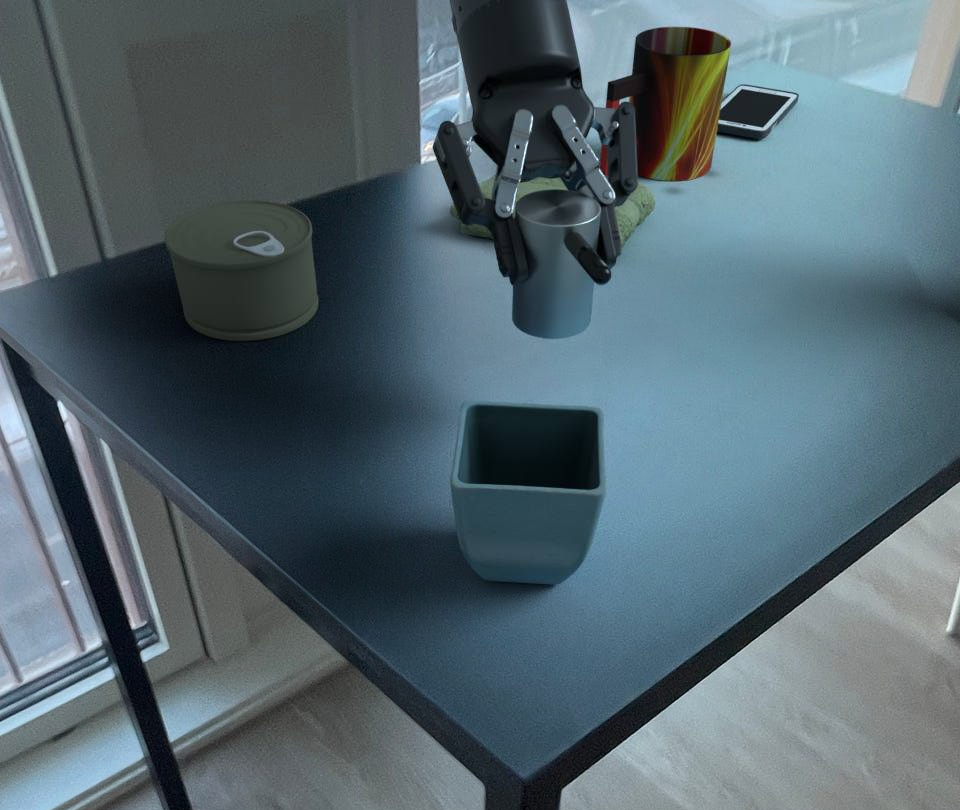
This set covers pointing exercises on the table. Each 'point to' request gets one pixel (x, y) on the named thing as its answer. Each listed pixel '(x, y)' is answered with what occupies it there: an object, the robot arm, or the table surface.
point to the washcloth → (626, 214)
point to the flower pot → (527, 488)
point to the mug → (674, 100)
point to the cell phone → (754, 110)
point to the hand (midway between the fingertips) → (564, 273)
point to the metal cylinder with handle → (558, 263)
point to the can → (244, 269)
